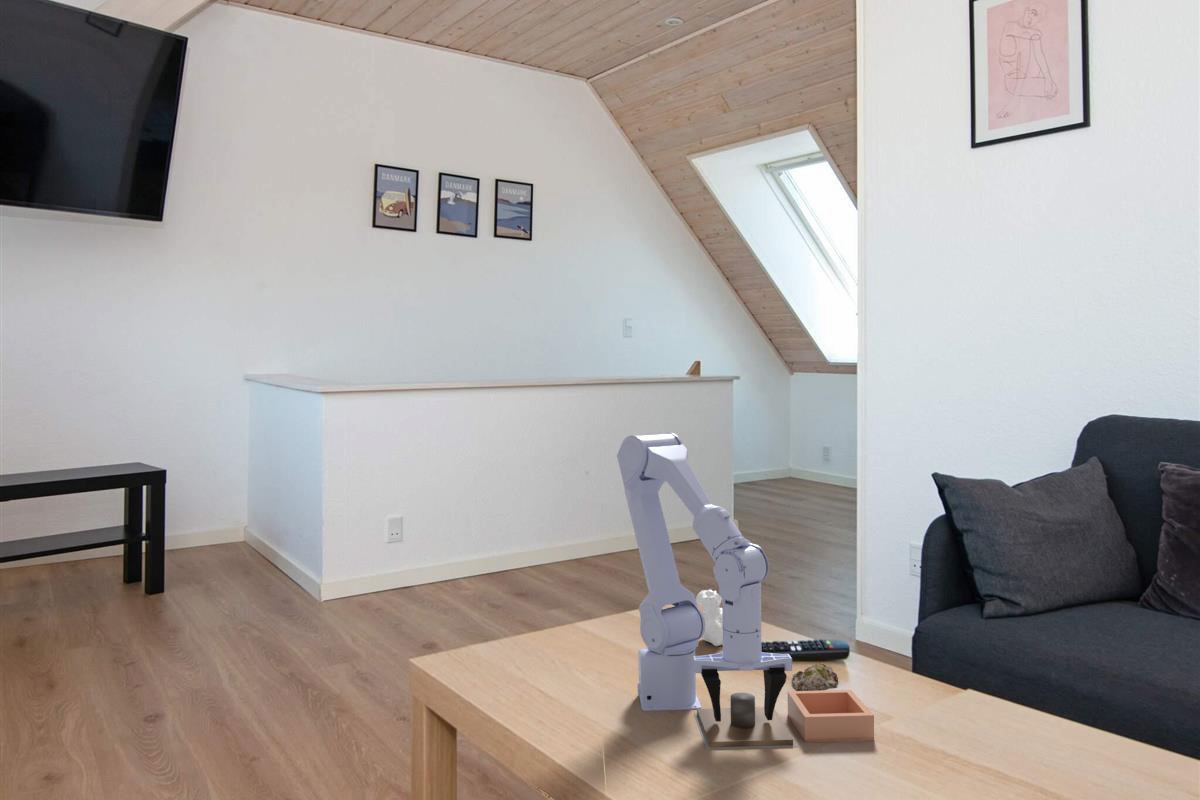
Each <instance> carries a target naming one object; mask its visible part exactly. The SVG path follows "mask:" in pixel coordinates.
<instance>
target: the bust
mask: <svg viewBox="0 0 1200 800" xmlns="http://www.w3.org/2000/svg"><path fill="white" fill-rule="evenodd" d="M695 599H696V603H697V605H698V606H700V607H701V608H703V611H702V613H703V616H704V619H705V632H704V635H703V636H702V638H701V639H702V640H703V641H705V642H708V643H710V644H711V645H713V646H714V647H719V646H723V618H722V607H720V606H721V604H722V598H721V595H720V594H719V593H717V590H712V588H710V589H708V590H707V589H706V590H705V589H704V590H703V589H701V591H699V593H698V594H697V595H696V596H695Z"/></svg>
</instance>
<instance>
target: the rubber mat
mask: <svg viewBox="0 0 1200 800" xmlns="http://www.w3.org/2000/svg"><path fill="white" fill-rule="evenodd" d="M777 714H778V712H777ZM778 715H779V714H778ZM693 716H694V718H695V722H696V723H697V727H698V730H699V733H700V735H701V738H702V741H703V744H704V747H705V748H706V749H705V750H732V749H733V750H734V749H735V750H738V749H771V748H772V749H773V748H774V749H775V748H777V749H779V748H798V745H797V743H796V742H795V739H794V738H793V735H791V733H790V732H789V734H790V735H791V737H792V739H793V745H783V746H746V747H709V745H708V742H707V739H706V737H705V734H704V731H703V728H702V726H701V723H700V720H699V717H698V715H697V712H693ZM780 719H781V720H782V718H781V717H780ZM783 724H784V725H785V723H784V722H783ZM786 729H787V730H788V728H787V727H786Z"/></svg>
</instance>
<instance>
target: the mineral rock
mask: <svg viewBox="0 0 1200 800" xmlns="http://www.w3.org/2000/svg"><path fill="white" fill-rule="evenodd" d="M838 682H839V677H838V675H837V673H836V672H835V670H834V669H833V667H832V666H831V665H828V664H825V663H819V664H818V663H817V664H812V666H807V668H805V670H804V671H802V670H799V671H797V672H796V673H794V674H792V678H791V687H793V688H794V690H795V691H821V690H824V689H830V688H837V685H838Z"/></svg>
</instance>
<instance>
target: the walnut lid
mask: <svg viewBox="0 0 1200 800" xmlns="http://www.w3.org/2000/svg"><path fill="white" fill-rule="evenodd" d="M720 709H721V721H719V722H717V721H716V720H715V718H714V712H713V708H701V709H696V711H697V712H696V713H697V715H698V717H699V720H700V723H701V726H702V728H703V731H704V734H705V737H706V739H707V742H708V745H709V747H746V746H783V745H793V740H794V738H793V736H792V735H791V733H790V732H789V729H788V728H787V727H786V725H785V723H784V722H783V720H782V718H781V717H780V715H779V714H777V713H778V712H777V710H776V709H775V708H774V712H773V717H772V720H767V718H766V716H765V712H764V706H762V707H761V706H758V707H756V697H755V695H754V694H752V693H747V692H735V693H732V694H730V707H725V708H722V707H720ZM780 718H781V719H780ZM783 723H784V724H783ZM786 728H787V729H786ZM789 733H790V734H789ZM791 736H792V737H791ZM792 738H793V739H792Z"/></svg>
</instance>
